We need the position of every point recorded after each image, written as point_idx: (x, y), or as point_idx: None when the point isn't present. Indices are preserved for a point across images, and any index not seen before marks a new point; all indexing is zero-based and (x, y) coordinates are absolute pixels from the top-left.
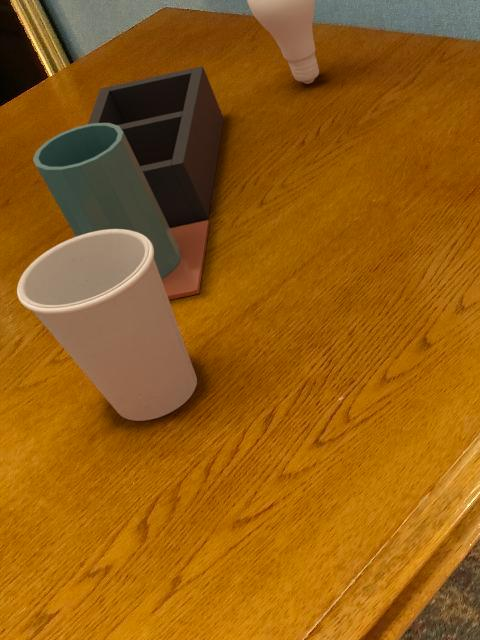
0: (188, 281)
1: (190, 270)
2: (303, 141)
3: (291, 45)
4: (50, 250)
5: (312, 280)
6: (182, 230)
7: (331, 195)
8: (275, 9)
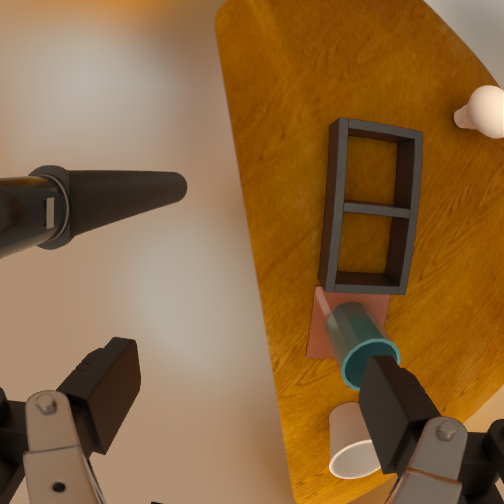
0: None
1: None
2: (451, 208)
3: (474, 128)
4: (346, 449)
5: (425, 361)
6: (376, 295)
7: (453, 286)
8: (490, 136)
